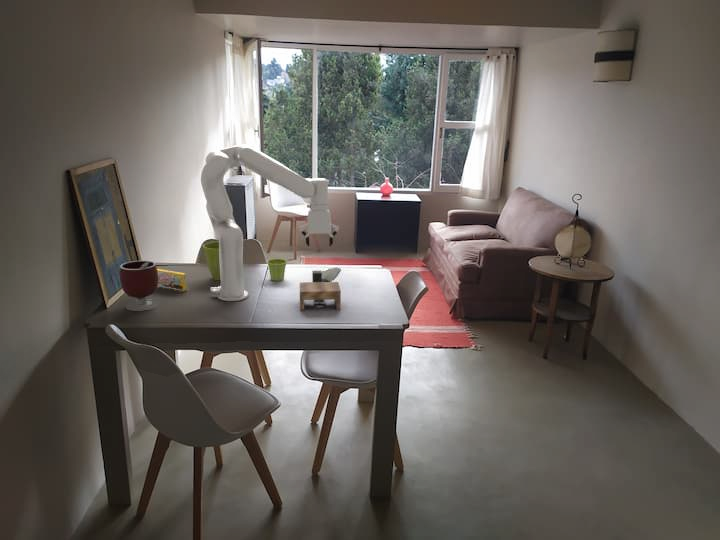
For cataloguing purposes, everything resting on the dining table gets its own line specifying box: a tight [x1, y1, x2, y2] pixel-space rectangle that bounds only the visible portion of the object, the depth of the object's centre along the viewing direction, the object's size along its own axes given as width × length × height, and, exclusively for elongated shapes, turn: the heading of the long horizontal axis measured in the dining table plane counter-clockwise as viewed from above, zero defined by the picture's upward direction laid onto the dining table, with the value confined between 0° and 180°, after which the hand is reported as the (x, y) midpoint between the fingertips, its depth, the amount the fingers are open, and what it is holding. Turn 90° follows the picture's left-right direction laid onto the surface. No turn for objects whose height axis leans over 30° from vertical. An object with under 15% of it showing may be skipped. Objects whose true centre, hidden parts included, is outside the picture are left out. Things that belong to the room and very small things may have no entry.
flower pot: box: [202, 241, 221, 281], centre depth 251 cm, size 15×15×16 cm
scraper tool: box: [311, 270, 325, 302], centre depth 235 cm, size 4×21×7 cm, turn 7°
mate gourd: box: [119, 260, 158, 307], centre depth 212 cm, size 16×14×20 cm
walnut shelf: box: [299, 281, 342, 312], centre depth 219 cm, size 16×12×8 cm
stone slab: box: [321, 267, 341, 282], centre depth 262 cm, size 22×3×10 cm
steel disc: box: [313, 301, 327, 309], centre depth 219 cm, size 5×5×2 cm
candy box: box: [157, 268, 187, 290], centre depth 235 cm, size 16×2×8 cm, turn 68°
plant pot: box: [266, 258, 288, 282], centre depth 252 cm, size 9×9×9 cm
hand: (319, 245), depth 237 cm, fingers open, 9 cm apart
